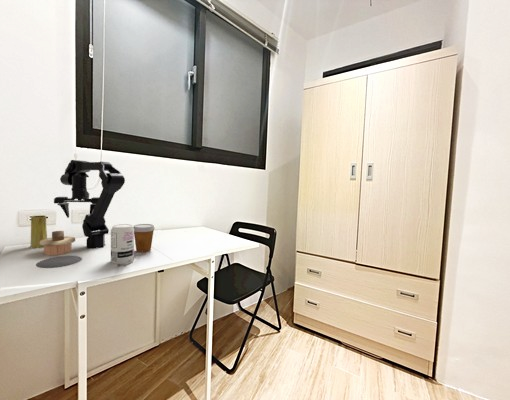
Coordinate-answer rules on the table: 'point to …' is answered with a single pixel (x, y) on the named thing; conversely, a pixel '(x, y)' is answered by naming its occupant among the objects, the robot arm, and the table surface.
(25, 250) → the table surface
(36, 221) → the vase
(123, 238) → the supplement can
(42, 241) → the lid
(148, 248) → the disposable coffee cup
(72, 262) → the mat
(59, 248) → the bowl
